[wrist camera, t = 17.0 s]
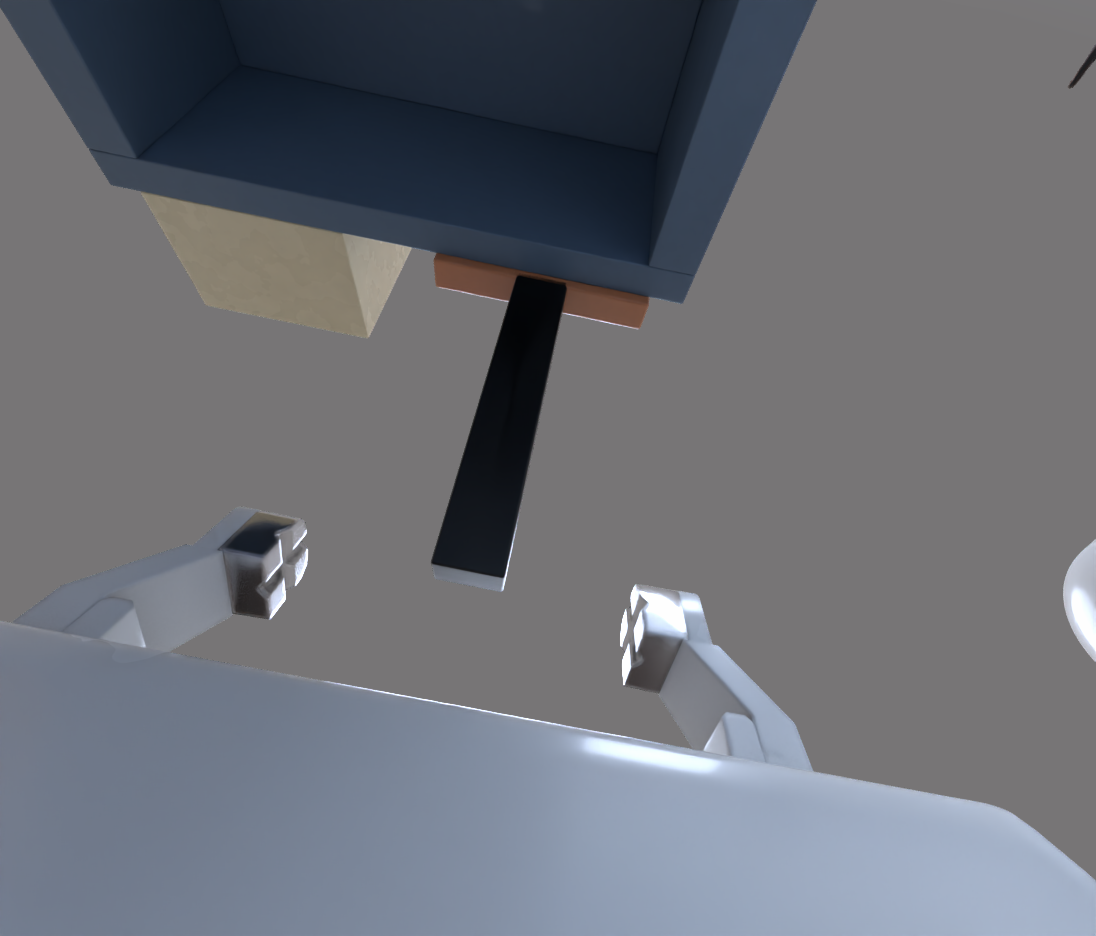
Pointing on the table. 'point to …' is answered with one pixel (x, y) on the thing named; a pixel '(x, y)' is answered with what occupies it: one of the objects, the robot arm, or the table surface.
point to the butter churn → (1084, 67)
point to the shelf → (435, 117)
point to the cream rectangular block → (280, 266)
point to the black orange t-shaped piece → (509, 408)
